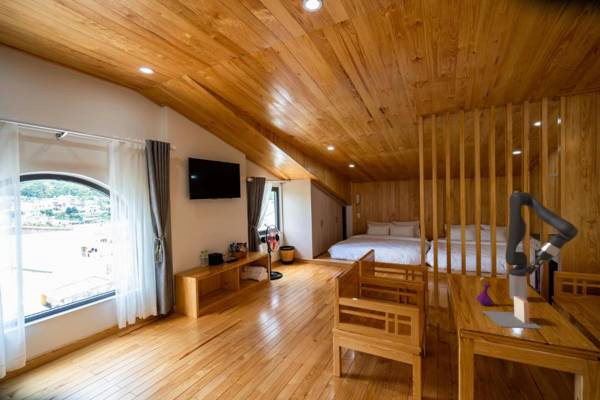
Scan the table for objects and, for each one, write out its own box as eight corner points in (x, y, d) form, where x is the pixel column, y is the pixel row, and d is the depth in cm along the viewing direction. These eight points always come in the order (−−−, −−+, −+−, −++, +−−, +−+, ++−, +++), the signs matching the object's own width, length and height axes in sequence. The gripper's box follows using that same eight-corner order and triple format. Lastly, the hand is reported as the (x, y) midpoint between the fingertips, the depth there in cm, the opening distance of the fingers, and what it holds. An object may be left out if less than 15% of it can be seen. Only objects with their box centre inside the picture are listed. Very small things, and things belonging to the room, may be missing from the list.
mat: (482, 311, 165) (482, 311, 165) (518, 313, 161) (518, 312, 161) (500, 326, 145) (500, 326, 145) (542, 329, 141) (542, 328, 141)
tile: (514, 316, 156) (513, 296, 157) (519, 316, 156) (518, 296, 156) (524, 323, 148) (523, 301, 148) (529, 323, 147) (528, 302, 147)
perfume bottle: (489, 302, 178) (487, 276, 178) (493, 307, 171) (492, 279, 171) (476, 301, 180) (475, 275, 180) (480, 306, 173) (479, 279, 173)
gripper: (537, 247, 161) (519, 267, 165) (541, 248, 150) (522, 269, 154) (551, 255, 157) (532, 275, 161) (557, 256, 146) (536, 278, 150)
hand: (527, 272), depth 157 cm, fingers open, 8 cm apart
